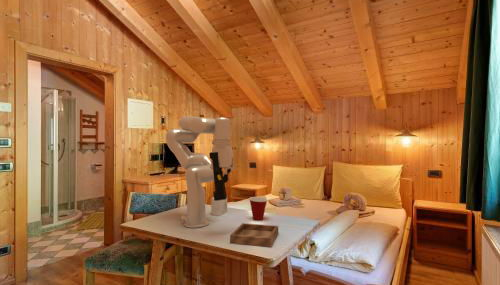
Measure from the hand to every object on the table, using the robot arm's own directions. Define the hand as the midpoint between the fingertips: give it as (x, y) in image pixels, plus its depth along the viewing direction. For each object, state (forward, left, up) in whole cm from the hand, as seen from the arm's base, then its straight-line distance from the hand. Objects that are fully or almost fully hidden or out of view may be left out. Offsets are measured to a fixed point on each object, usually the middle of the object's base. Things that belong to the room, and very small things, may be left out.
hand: (222, 182), depth 124 cm
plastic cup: (+10, +30, -25) cm, 40 cm away
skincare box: (-17, +37, -25) cm, 48 cm away
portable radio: (-1, +1, -8) cm, 8 cm away
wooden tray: (+16, 0, -25) cm, 30 cm away
